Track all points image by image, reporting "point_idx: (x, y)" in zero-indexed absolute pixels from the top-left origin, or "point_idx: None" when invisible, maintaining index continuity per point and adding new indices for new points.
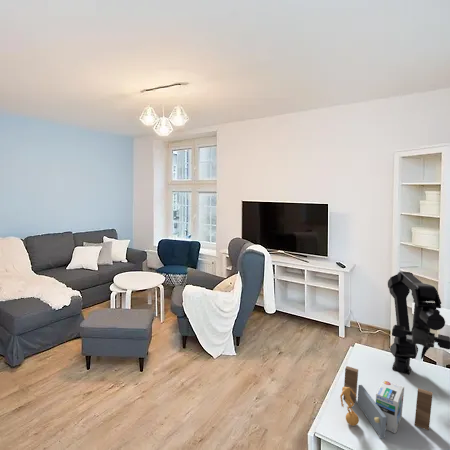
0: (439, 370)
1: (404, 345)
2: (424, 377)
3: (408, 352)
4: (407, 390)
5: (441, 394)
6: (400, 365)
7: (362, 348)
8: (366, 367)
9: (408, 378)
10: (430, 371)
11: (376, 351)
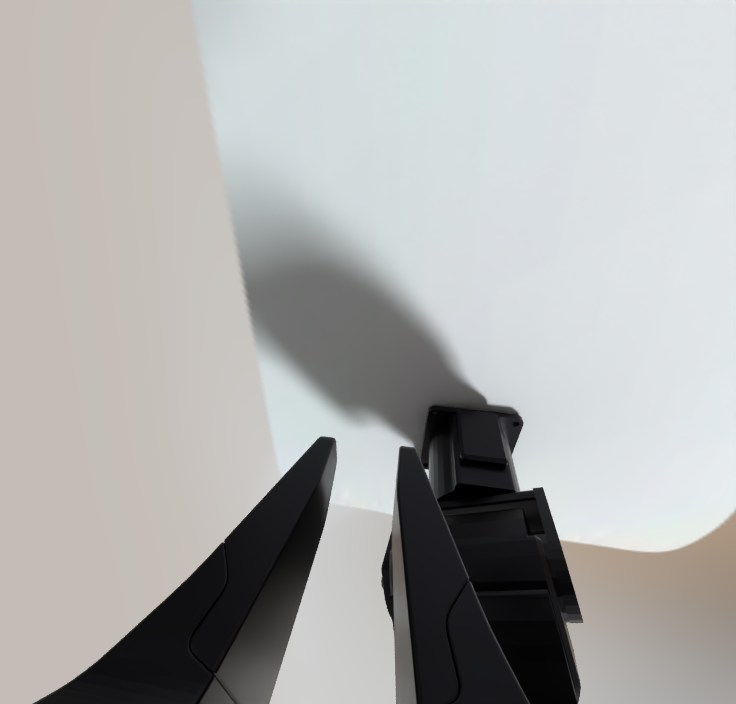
0: None
1: (503, 606)
2: (356, 411)
3: (454, 536)
4: (451, 228)
5: (264, 294)
6: (486, 439)
7: (656, 535)
8: (704, 378)
9: (436, 369)
10: None
11: (578, 530)
